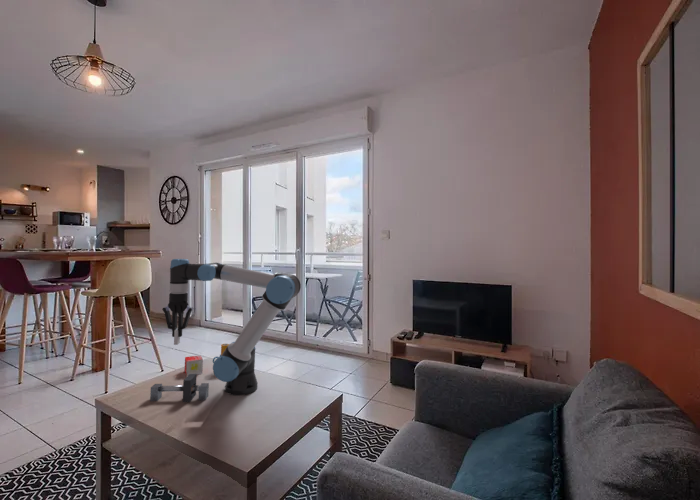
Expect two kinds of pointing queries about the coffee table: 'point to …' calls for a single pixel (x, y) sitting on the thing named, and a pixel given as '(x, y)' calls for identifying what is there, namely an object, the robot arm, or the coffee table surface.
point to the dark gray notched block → (189, 387)
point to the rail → (158, 389)
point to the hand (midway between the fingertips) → (176, 343)
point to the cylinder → (222, 349)
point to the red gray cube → (193, 365)
